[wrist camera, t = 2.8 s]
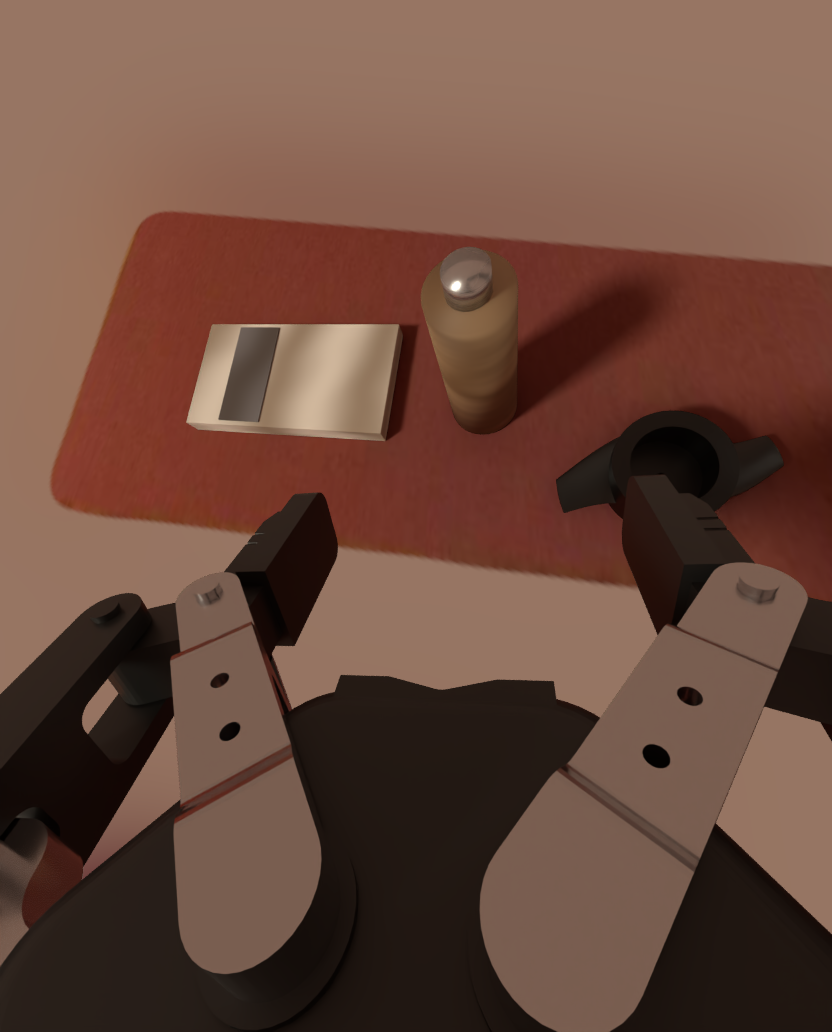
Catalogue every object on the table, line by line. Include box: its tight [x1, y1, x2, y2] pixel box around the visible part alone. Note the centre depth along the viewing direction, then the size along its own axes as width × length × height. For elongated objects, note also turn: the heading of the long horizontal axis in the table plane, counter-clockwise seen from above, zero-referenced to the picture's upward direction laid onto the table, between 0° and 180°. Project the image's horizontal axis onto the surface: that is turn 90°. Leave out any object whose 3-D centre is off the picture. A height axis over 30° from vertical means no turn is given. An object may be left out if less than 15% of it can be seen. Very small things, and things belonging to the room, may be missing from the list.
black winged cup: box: [556, 411, 784, 519], centre depth 24 cm, size 8×10×3 cm
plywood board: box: [187, 324, 403, 441], centre depth 31 cm, size 14×8×1 cm, turn 82°
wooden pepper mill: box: [421, 247, 518, 434], centre depth 23 cm, size 4×4×11 cm
